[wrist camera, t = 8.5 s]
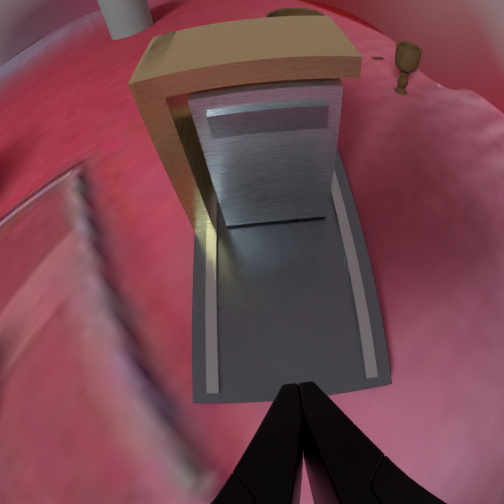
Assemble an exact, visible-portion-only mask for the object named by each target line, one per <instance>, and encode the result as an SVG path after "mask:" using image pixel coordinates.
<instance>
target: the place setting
mask: <svg viewBox="0 0 504 504" xmlns="http://www.w3.org/2000/svg"><path fill="white" fill-rule="evenodd" d="M282 16H325V15H324V14H323V13H321V12H319V11H316V10H312V9H306V8H284V9H278V10H274V11H272V12H270V13H268V14H267V15H266V18H267V17H282ZM421 52H422V49H421V48H420V47H419V46H417V45H415V44H413V43H409V42H405V41H399V42H398V43H397V47H396V54H395V63H396V66H397V67H398V68H399V69H400V70H401V72H400V73H401V75H400V77H399V79H398V85H399V87H397V88H395V91H396V92H397V93H399V94H402V95H406V94H407V92H406V90H405V89H404V88H405V87H406V86H407V84H408V80H407V77H408V75H409V73H412V72H414V71H416V69H417V68H418V65H419V62H420V58H421ZM372 58H373V59H378V58H379V57H377V58H376V57H375V58H374V57H372ZM381 58H382V57H380V58H379V59H381ZM382 59H384V58H382Z"/></svg>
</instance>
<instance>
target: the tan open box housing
mask: <svg viewBox="0 0 504 504" xmlns="http://www.w3.org/2000/svg"><path fill="white" fill-rule="evenodd" d="M361 64H362V56H361V54H360V53H359V52H358V50H357V49H356V48H355V47H354V45H353V44H352V43H351V42H350V40H349V39H348V38H347V37H346V35H345V34H344V33H343V32H342V31H341V29H340V28H339V27H338V26H337V25H336V24H335V22H334V21H333V20H332V19H331V18H330V17H329V16H282V17H267V18H255V19H246V20H237V21H230V22H223V23H216V24H210V25H205V26H199V27H194V28H189V29H184V30H180V31H175V32H171V33H167V34H163V35H159V36H155V37H153V38H152V40H151V42H150V44H149V45H148V47H147V49H146V51H145V52H144V54H143V56H142V58H141V60H140V62H139V64H138V65H137V67H136V69H135V71H134V73H133V75H132V77H131V79H130V81H129V83H128V86H129V89H130V91H131V93H132V96H133V98H134V100H135V103H136V105H137V107H138V110H139V112H140V114H141V117H142V119H143V121H144V123H145V126H146V128H147V130H148V133H149V135H150V137H151V139H152V142H153V144H154V146H155V148H156V150H157V153H158V155H159V157H160V159H161V161H162V164H163V166H164V168H165V170H166V172H167V174H168V177H169V179H170V181H171V183H172V185H173V187H174V190H175V192H176V194H177V196H178V198H179V200H180V202H181V204H182V206H183V209H184V211H185V213H186V215H187V217H188V219H189V221H190V223H191V225H192V227H193V229H194V231H195V233H196V232H205V231H206V230H207V228H213V215H214V185H213V182H212V179H211V175H210V172H209V169H208V166H207V163H206V159H205V156H204V153H203V150H202V146H201V143H200V140H199V137H198V134H197V130H196V127H195V124H194V120H193V117H192V114H191V111H190V107H189V104H188V101H187V100H188V95H189V93H190V92H195V91H201V90H207V89H213V88H219V87H226V86H233V85H241V84H250V83H259V82H269V81H282V80H297V79H321V78H360V73H361Z"/></svg>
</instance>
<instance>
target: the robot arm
mask: <svg viewBox="0 0 504 504" xmlns="http://www.w3.org/2000/svg"><path fill="white" fill-rule="evenodd" d="M303 455H304V461H305V466H306V470H307V474H308V479H309V483H310V487H311V492H312V496H313V500H314V504H447V503H445V502H444V501H442V500H441V499H439V498H438V497H436V496H435V495H433V494H432V493H430V492H429V491H427V490H426V489H424V488H423V487H422V486H420V485H419V484H418V483H416V482H415V481H414V480H412V479H411V478H410V477H408V476H407V475H406V474H405V473H404V472H403V471H402V470H401V469H400V468H398V467H397V466H396V465H395V464H394V463H393V462H392V461H391V460H390V459H389V458H388V457H387V456H384V453H383V452H382V451H381V450H380V449H379V448H378V447H377V446H376V445H375V444H374V443H373V442H372V441H371V440H370V439H369V438H368V437H367V436H366V435H365V434H364V433H363V432H362V431H361V430H360V429H359V428H358V427H357V426H356V425H355V424H354V423H353V422H352V421H351V420H350V419H349V418H348V417H347V416H346V415H345V414H344V413H343V412H342V411H341V409H340V408H339V407H338V406H337V405H336V404H335V403H334V402H333V401H332V400H331V399H330V398H329V397H328V396H327V395H326V394H325V393H324V392H323V391H322V390H321V388H320V387H319V386H318V385H317V384H316V383H315V382H313V381H310V382H301V383H299V385H298V384H297V383H291V384H283V385H282V386H281V388H280V390H279V392H278V394H277V395H276V397H275V399H274V401H273V403H272V405H271V407H270V408H269V410H268V412H267V414H266V416H265V418H264V419H263V421H262V423H261V425H260V426H259V428H258V430H257V432H256V433H255V435H254V437H253V439H252V440H251V442H250V444H249V446H248V447H247V449H246V451H245V452H244V454H243V456H242V457H241V459H240V461H239V462H238V464H237V466H236V467H235V469H234V470H233V473H232V474H231V475H230V477H229V478H228V480H227V481H226V483H225V484H224V486H223V487H222V489H221V490H220V492H219V493H218V494H217V496H216V497H215V499H214V500H213V501H212V502H211V504H300V493H301V481H302V468H303Z"/></svg>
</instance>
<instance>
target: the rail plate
mask: <svg viewBox="0 0 504 504" xmlns="http://www.w3.org/2000/svg"><path fill="white" fill-rule="evenodd" d="M192 379H193V403H246V402H264V401H274V399H275V397H276V395H277V394H278V392H279V390H280V388H281V386H282V385H283V384H291V383H297V384H298V385H299V383H301V382H310V381H313V382H315V383H316V384H317V385H318V386H319V387H320V388H321V390H322V391H323V392H324V393H325V394H326V395H332V394H339V393H346V392H352V391H358V390H364V389H370V388H375V387H380V386H385V385H389V384H392V380H391V372H390V365H389V358H388V351H387V345H386V339H385V333H384V327H383V321H382V316H381V310H380V305H379V300H378V295H377V290H376V286H375V281H374V277H373V272H372V268H371V263H370V259H369V255H368V251H367V247H366V243H365V239H364V235H363V231H362V227H361V224H360V220H359V216H358V213H357V209H356V206H355V202H354V199H353V195H352V192H351V189H350V185H349V182H348V179H347V176H346V172H345V169H344V166H343V163H342V160H341V157H340V154H339V151H338V148H337V151H336V159H335V166H334V174H333V181H332V188H331V195H330V201H329V208H328V214H327V216H325V217H314V218H303V219H292V220H282V221H272V222H262V223H252V224H242V225H233V226H226V223H225V220H224V216H223V213H222V210H221V207H220V204H219V201H218V198H217V194H216V191H215V188H214V215H213V228H207V230H206V231H205V232H196V233H195V242H194V267H193V308H192Z"/></svg>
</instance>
